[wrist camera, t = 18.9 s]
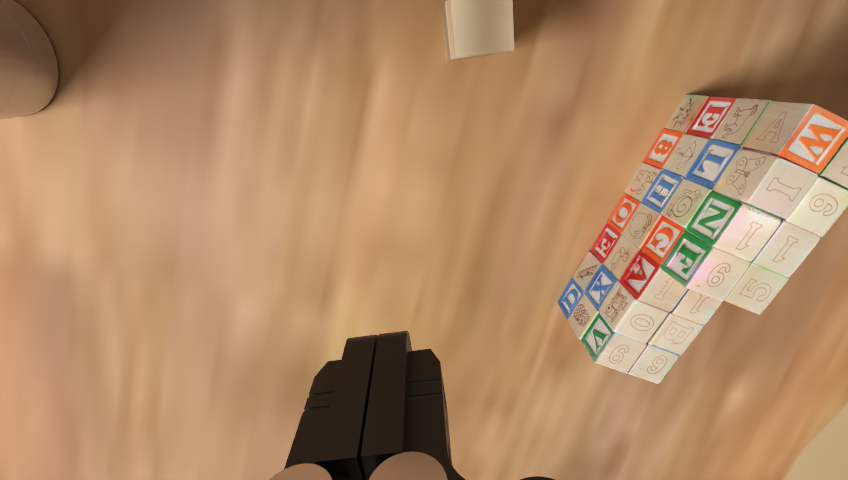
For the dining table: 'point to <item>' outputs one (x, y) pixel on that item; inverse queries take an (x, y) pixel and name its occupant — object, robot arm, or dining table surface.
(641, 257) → the stack of blocks
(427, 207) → the dining table surface
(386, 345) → the robot arm
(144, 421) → the dining table surface
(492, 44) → the beige wooden block
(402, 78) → the dining table surface
